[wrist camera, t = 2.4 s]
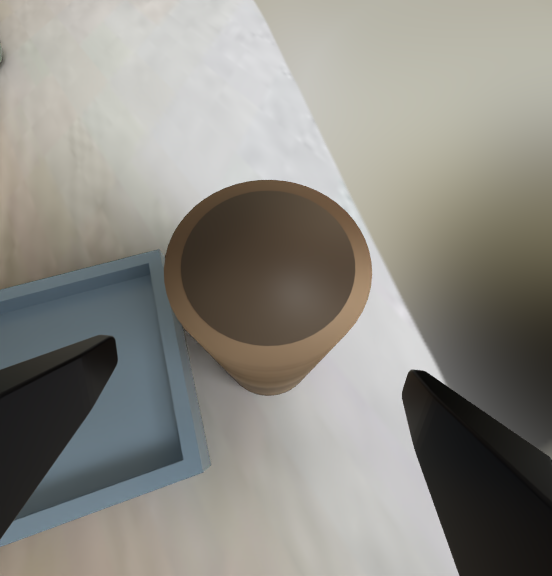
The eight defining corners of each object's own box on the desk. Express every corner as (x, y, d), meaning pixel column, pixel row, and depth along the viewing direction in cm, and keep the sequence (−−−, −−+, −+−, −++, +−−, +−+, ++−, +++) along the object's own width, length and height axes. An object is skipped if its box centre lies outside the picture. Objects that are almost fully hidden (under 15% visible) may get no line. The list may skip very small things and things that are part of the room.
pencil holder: (322, 382, 18) (406, 334, 7) (234, 405, 18) (175, 392, 7) (298, 301, 20) (334, 165, 9) (218, 319, 20) (154, 196, 9)
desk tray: (211, 465, 16) (203, 472, 14) (-49, 560, 15) (-100, 583, 13) (169, 264, 21) (159, 249, 19) (-30, 317, 19) (-66, 306, 17)
